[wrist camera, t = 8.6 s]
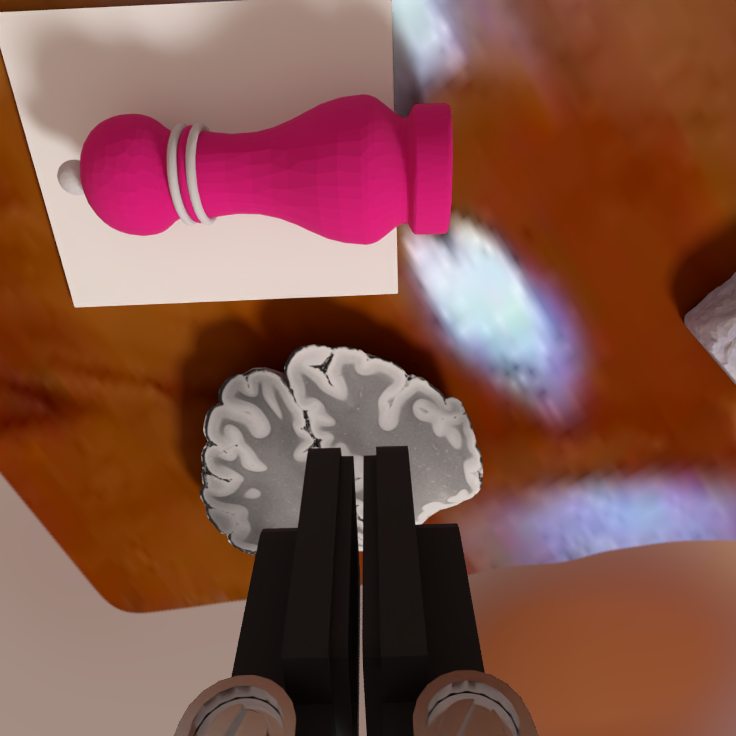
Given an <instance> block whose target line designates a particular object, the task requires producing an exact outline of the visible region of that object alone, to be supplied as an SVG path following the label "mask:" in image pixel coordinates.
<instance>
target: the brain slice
mask: <svg viewBox="0 0 736 736" xmlns="http://www.w3.org/2000/svg"><path fill="white" fill-rule="evenodd" d="M218 399H219V402H220V403H219V404H217V405H215V406H212V407H211V408H210V409H209V411H208V412H207V414H206V417H205V421H204V427H203V431H204V434H205V437H206V439H207V443H206V445H205V446H204V448H203V451H202V454H201V460H202V474H201V476H202V482H203V487H202V488H201V490H200V497H201V499H202V501H203V503H204V504H205V506H206V514H207V517H208V519H209V520H210V521H211V522H212V523H213V524H214V526H215V527H216V528H217V529H218V531H219V532H221V533H222V534H227V538H228V541H229V542H230V543H231V544H232V545H233V546H234V547H235V548H237V549H239V550H240V551H242V552H245V553H248V554H252V555H256V551H257V546H258V541H259V537H260V533H261V531H262V529H266V528H298V522H299V514H300V506H301V498H302V491H303V483H304V475H305V468H306V460H307V453H308V449H309V448H341V454H342V456H353V457H354V472H355V491H356V510H357V528H358V547H359V551H363V457H364V455H376V447H378V446H408V451H409V461H410V472H411V483H412V493H413V504H414V514H415V525H419V524H422V523H424V522H425V521H426V520H427V519H428V518H429V516H431V515H433V514H434V513H436V512H438V511H439V510H441V509H445V508H449V507H452V506H455V505H458V504H459V503H461V502H463V501H465V500H467V499H470V498H472V497H473V496H474V495H476V494H477V493H478V492H479V490H480V489H481V485H482V475H483V467H482V457H481V453H480V449H479V448H478V447H477V444H476V439H475V435H474V432H473V429H472V425H471V423H470V420H469V417H468V415H467V414H466V413H465V410H464V407H463V404H462V403H461V402H460V401H459V400H458V399H457V398H453V397H448V398H445V397H444V396H443V394H442V393H441V392H440V391H439V390H438V389H436V388H435V387H434V386H433V385H431V384H430V383H429V382H428V381H426V380H425V379H424V378H422V377H417V376H415V375H413V374H411V375H408V374H406V373H405V372H404V370H403V369H402V368H401V367H400V366H398V365H397V364H395V363H393V362H391V361H388V360H385V359H382V358H380V357H377V356H374V355H371V354H368V353H364V352H363V351H362V350H360V349H356V348H351V347H343V346H337V347H333V348H330V347H328V346H325V345H318V344H313V345H306V346H302V347H300V348H298V349H295V350H294V351H293V352H292V353H291V354H290V356H289V358H288V359H287V361H286V363H285V365H284V373H282V372H279V371H276V370H273V369H270V368H266V367H261V368H252V369H250V370H249V371H247V372H245V373H244V374H235V375H233V376H230V377H229V378H228V379H227V380H226V381H225V382H224V383H223V384H222V386H221V387H220V389H219V395H218Z"/></svg>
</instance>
